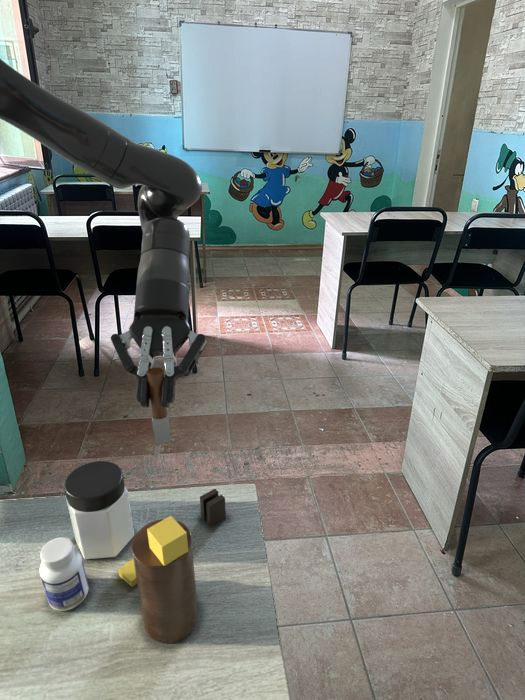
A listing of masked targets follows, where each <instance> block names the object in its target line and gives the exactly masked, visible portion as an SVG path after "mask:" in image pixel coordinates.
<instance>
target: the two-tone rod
mask: <svg viewBox="0 0 525 700" xmlns="http://www.w3.org/2000/svg"><path fill="white" fill-rule="evenodd" d="M163 377H165V370H164V369H163V368H161V367H152V368H151V369H149V370H148V371H147V379H148V388H149V396H150V401H149V406H150V412H151V425H152V431H153V442H154V446H155V447H157V448H158V446H161V445H163V444H165V443H167V442H169V441H171V440H172V439H171V430H170V429H171V428H170V419H169V411H168V407H163V406H162V388H163Z"/></svg>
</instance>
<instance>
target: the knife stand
mask: <svg viewBox="0 0 525 700" xmlns="http://www.w3.org/2000/svg"><path fill="white" fill-rule="evenodd" d="M199 504H200V506H199V507H200V518H201V519H202V520H203V521H204V522H205V521H207V525H208V526H209V527H210V528H212V527H214V526H215V525H217V524H219V523H221V522H222V521H225V520H226V519H227V514H226V497H225V496H224V495H223V494H220V495H219V490H218V489H217V488H212V489H210V491H208V492H206V493H204V494H202V495H200V496H199Z"/></svg>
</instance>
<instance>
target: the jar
mask: <svg viewBox="0 0 525 700" xmlns="http://www.w3.org/2000/svg"><path fill="white" fill-rule="evenodd" d="M124 479H125V478H124V473H123V470H122V468H121V467H120V466H119V464H116V463H114V462H113V461H112V462H111V461H108V460H95V461H91V462H87V463H84V464H82V465H79V466H78V467H77V468H74V469H73V470H72V471H71V472H70V473H69V474H68V475H67V477H66V478H65V481H64V485H63V488H64V497H65V500H66V505H67V510H68V513H69V517H70V518H69V519H70V522H71V527H72V531H73V536H74V539H75V542H76V544H77V547H78V549H79V550H80V551H79V552H80V554H81V556H82V558H83V559H84V560H94V559H95V560H96V559H108V558H116V557H117V556H118V555H119V554H120V553H121V551H122V550H123V549H124V548H125V547H126V545H128V544H129V542H130V541H131V540H133V539H134V537H135V529H134V522H133V515H132V510H131V505H130V503H131V502H130V497H129V490H128V489H127V487H126V485H125V480H124Z"/></svg>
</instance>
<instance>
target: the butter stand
mask: <svg viewBox="0 0 525 700" xmlns="http://www.w3.org/2000/svg"><path fill="white" fill-rule="evenodd" d="M164 519H165V518H162V519H157V520H153V521H151V522H149V523H147V524H145V525H144V526H143V527H141V528H140V529H139V530H138V531H137V532H136V534H134V536H133V538H132V542H131V554H132V559H133V560H134V566H135V572H136V579H137V584H136V585H137V591H138V596H139V603H140V609H141V615H142V621H143V627H144V629H145V632H146V635H148V637H149V638H150V639H152V640H153V641H154V642H157V643H160V644H173V643H177V642H180V641H181V640H184V638H186V637H187V636H188V635H189V634H191V632H192V631H193V630H194V628H195V627H196V624H197V622H198V617H199V611H198V599H197V597H198V596H197V587H196V586H197V585H196V575H195V574H196V573H195V562H194V550H193V539H192V538H193V537H192V533H191V531H190V529H189V527H188V526H187V525H186V524H184V523H183V522H182V521H179V520H177V519H175V520H176V521H177V523H178V524H179V525H180V526H181V527H182V528H183V529H184V530H185V531H186V533H187V542H188V552H186V553H185V554H183V555H182V556H180V557H178V558H177V559H175V560H174V561H172V562H170V563H169V564H167V565H166V566H164V565H163V564H162V563H161V561H160V560H159V559H158V558H157V556H156V555H155V554H154V553H153V551H152V550H151V549H150V547H149V540H148V533H147V529H148V528H150V527H152V526H153V525H155V524H157V523H159V522H161V521H162V520H164Z"/></svg>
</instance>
